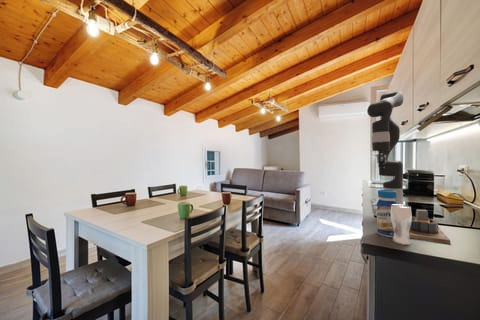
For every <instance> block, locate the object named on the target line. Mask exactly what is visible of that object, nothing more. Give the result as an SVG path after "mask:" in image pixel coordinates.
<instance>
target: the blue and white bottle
mask: <svg viewBox="0 0 480 320" xmlns="http://www.w3.org/2000/svg"><path fill="white" fill-rule="evenodd" d="M377 197H378V198H379V199H378V200H377V202H376V209H375V210H376V211H375V212H376V227H377V228H376V231H377V234H378V235H381V236H383V237H388V238H393V228H392V223H391V218H390V208H391V205H392V204H398V203H397V202H396V201H395V199H396V191H393V190H383V189H378V190H377Z"/></svg>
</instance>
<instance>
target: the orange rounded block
mask: <svg viewBox="0 0 480 320" xmlns="http://www.w3.org/2000/svg"><path fill="white" fill-rule="evenodd" d="M415 217H416V219H415V221H418V222H425V223H430V221H429V220H428V219H429V212H428V210H427V209H415Z"/></svg>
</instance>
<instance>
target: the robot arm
mask: <svg viewBox="0 0 480 320" xmlns="http://www.w3.org/2000/svg"><path fill="white" fill-rule="evenodd" d="M403 104H404V95H403V92H402V91H399V90H398V91H397V90H396V91H392V92H387V93H384V94H381V95H380V99H379V101H378V102H377V101H376V102H374V103H371V104H370V105H369V106H368V108H367V110H366V111H367V115H368V116H369V117H370V118H378V117H380V119H378V120H376V121H374V122H372V123H371V124H372V125H371V132H372V134H371V150H372V152H378V153H377V154H376V155H375V156H376V162H377V165H378V175H379V176H381V177H382V176H383V177H394V178H393V179H391V180H388V181H385V182H382V183H383V184H382V190H393V191H396V199H395V201H396V202H397V203H398V204H401V205H404V192H403V191H404V190H403V189H404V188H403V185H404V184H403V181H404V180H403V175H404V166H403V165H404V164H403V162H402V161H401V160H388V159H389V156H390V153H391V152H392V151H393V149H394V148H395V146H396V145H397V144H398V142H399V140H400V136H401V135H400V127H399V125H398V124H397V122H396V121H395V120H394V119H393V118H392V113H393V110H394V108H397V107H401V106H402V105H403Z"/></svg>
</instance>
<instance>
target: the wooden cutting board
mask: <svg viewBox="0 0 480 320" xmlns="http://www.w3.org/2000/svg"><path fill="white" fill-rule="evenodd" d="M410 239H415V240H416V239H417V240H422V241H428V242H436V243H441V244H449V245H450V244H451V239H450V238H449V237H448V236H447V235H446V234H445V233H444V231H442V229H441V228H440V227H439V226H438V233H437V234H426V233H419V232H415V231H412V230H410Z"/></svg>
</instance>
